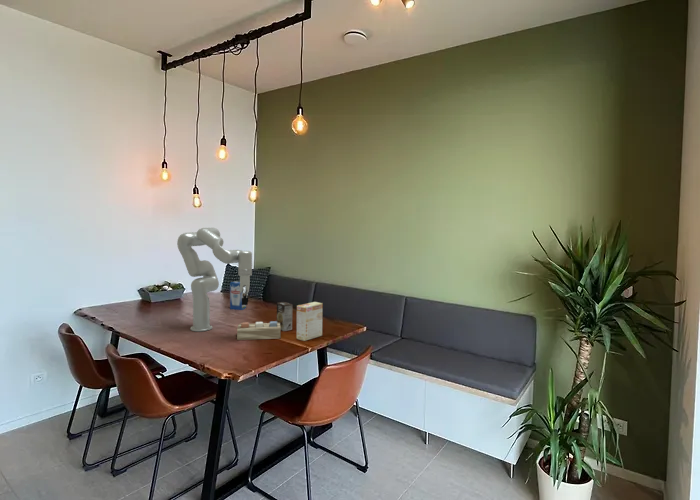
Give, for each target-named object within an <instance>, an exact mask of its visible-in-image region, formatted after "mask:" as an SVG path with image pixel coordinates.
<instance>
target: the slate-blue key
mask: <svg viewBox="0 0 700 500" xmlns="http://www.w3.org/2000/svg"><path fill="white" fill-rule="evenodd" d="M269 323H270V327H277V320H275V321H273V320H271V321H269Z"/></svg>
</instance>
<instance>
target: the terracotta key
mask: <svg viewBox="0 0 700 500" xmlns="http://www.w3.org/2000/svg"><path fill="white" fill-rule="evenodd" d="M240 324H241V328H249V324H250V321H247V322H246V321H244V322H242V321H241V323H240Z"/></svg>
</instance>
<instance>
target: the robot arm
mask: <svg viewBox="0 0 700 500" xmlns="http://www.w3.org/2000/svg"><path fill="white" fill-rule="evenodd" d="M176 242H177V248H178V251H179V252H180V255H181V256H182V259H183V262H184V265H185V267H186V270H187V272H188V274H189V276H190V277H193V278H195V277H197V278H195V279H194V280H192V282H191V284H190V290H191V293H192V316H193V317H192V326H190V329H189V330H190V331H193V332H207V331H210V330H212V329H213V326H212V324H210V320H211V319H210V314H211V313H210V309H211V308H210V307H211V305H210V304H211V303H210V297H209V296H208V294H207V293H210V292H214V291H216V290H218V288H219V285H220V284H219V283H220V282H219V281H220V280H219V278H218V276H217V273H216V270H215V268H214V265H213V264H212V263H211V261H209V260H201V259H200V258H199V255H198V253H197V251H196V250H195V249H194V248H193V247H200V246H201V247H202V246H206V247H208V248H209V249H211V250H212V254H213V255H214V257H215V258H216V259H217V260H219V262H221V263H223V264H228V265H230V264H236V263H238V264H237V266H238V268H237V269H238V270H237V271H238V274H237V275H238V276H239V282H240V293H241V292H242V305H246V306H248V304H249V292H250V287H251V286H250V284H251V283H250V282H251V281H250V277H251V276H252V275H253V253H252V252H251V251H250V250H242V249H230V250H229V249H228V250H227V249H225V248H224V247H223V246H224V239H223V238H222V237H221V233H220V230H219V229H217V228H215V227H202V228H199V229H198V230H197V231H196V232H194V231H193V232H192V231H191V232H183V233H182V234H180V235H179V236H178V239H177V241H176Z"/></svg>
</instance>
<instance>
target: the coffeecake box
mask: <svg viewBox="0 0 700 500" xmlns="http://www.w3.org/2000/svg"><path fill="white" fill-rule="evenodd" d="M323 306H324V305H323V302H318V301H312V302H308V303H303V304H298V305H296V339H297V340H299V341H303V342H306V341H308V340H312V339H315V338H319V337H322V336H323Z"/></svg>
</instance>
